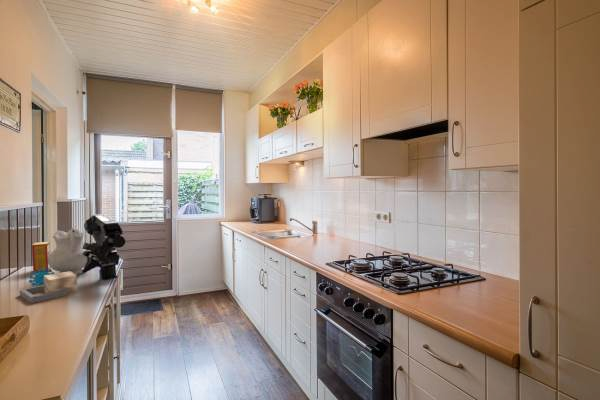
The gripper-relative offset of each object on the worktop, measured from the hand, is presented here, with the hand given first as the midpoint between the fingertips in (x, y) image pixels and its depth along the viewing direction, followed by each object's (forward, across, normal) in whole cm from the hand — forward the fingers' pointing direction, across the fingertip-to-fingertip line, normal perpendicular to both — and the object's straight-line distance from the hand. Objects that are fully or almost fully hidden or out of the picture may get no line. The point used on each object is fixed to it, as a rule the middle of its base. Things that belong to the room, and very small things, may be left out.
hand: (82, 272), depth 153 cm
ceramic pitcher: (+1, -32, +9) cm, 33 cm away
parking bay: (+15, 0, -6) cm, 16 cm away
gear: (+12, -19, -2) cm, 23 cm away
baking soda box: (+6, -55, +4) cm, 55 cm away
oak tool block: (+11, 0, -2) cm, 11 cm away
